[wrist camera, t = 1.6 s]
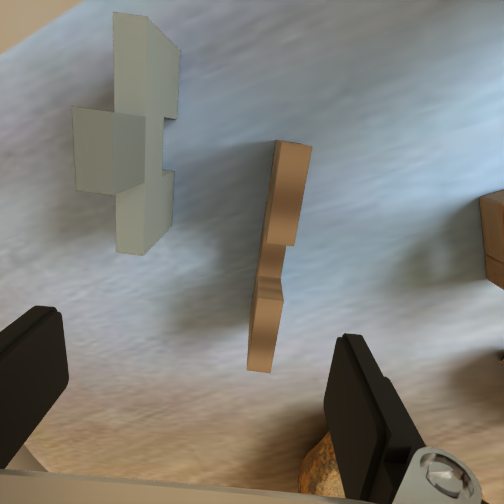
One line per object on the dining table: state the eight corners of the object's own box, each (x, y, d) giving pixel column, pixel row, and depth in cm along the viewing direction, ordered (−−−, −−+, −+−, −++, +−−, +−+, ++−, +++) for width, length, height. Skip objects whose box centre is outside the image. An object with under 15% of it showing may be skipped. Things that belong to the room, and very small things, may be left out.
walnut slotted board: (275, 140, 35) (281, 142, 25) (298, 143, 35) (312, 146, 25) (249, 317, 42) (246, 370, 33) (267, 319, 42) (270, 373, 33)
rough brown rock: (399, 358, 45) (451, 454, 31) (455, 441, 48) (526, 563, 34) (262, 426, 51) (252, 533, 37) (319, 496, 54) (332, 619, 40)
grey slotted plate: (156, 47, 32) (64, -29, 17) (180, 50, 32) (110, -22, 17) (151, 223, 38) (81, 281, 23) (172, 225, 38) (114, 285, 23)
